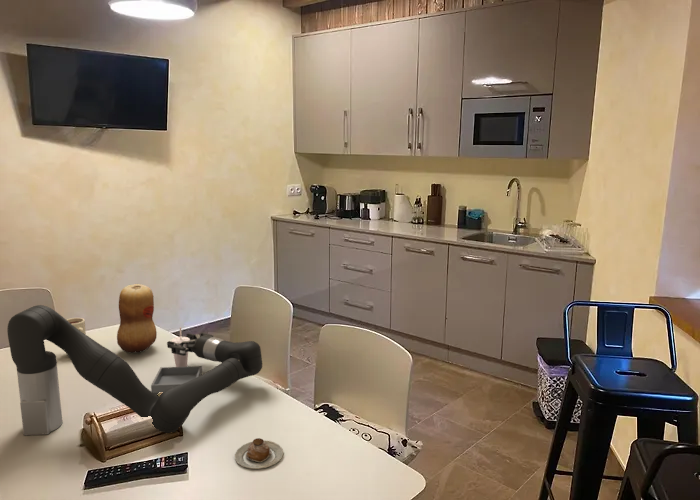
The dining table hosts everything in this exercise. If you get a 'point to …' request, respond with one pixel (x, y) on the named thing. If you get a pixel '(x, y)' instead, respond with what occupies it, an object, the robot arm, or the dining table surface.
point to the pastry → (258, 453)
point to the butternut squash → (136, 319)
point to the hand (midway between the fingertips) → (177, 340)
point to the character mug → (78, 324)
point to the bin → (174, 377)
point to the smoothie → (180, 359)
